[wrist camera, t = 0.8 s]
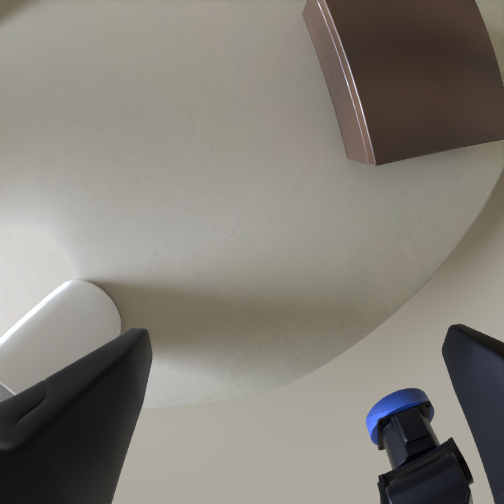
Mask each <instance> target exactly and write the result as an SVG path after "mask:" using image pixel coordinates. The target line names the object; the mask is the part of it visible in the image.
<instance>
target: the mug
mask: <svg viewBox="0 0 504 504" xmlns="http://www.w3.org/2000/svg"><path fill="white" fill-rule="evenodd" d="M120 331H121V319H120V315H119V312H118V309H117V307H116V306H115V304H114V302H113V301H112V299H111V298H110V297H109V296H108V295H107V294H106V293H105V292H104V291H103V290H102V289H100V288H99V287H97V286H96V285H94V284H92V283H90V282H87V281H83V280H72V281H69V282H66V283H64V284H63V285H62V286H60V287H59V288H58V289H56V290H55V291H54V292H53V293H51V294H50V295H49V296H48V297H46V298H45V299H44V300H43V301H42V302H41V303H40V304H38V305H37V306H36V307H35V308H34V309H33V310H32V311H30V312H29V313H28V314H27V315H26V316H25V317H24V318H23V319H21V320H20V321H19V322H18V323H17V324H16V325H15V326H14V327H13V328H11V329H10V330H9V331H8V332H7V333H6V334H5V335H4V336H3V337H2V338H1V339H0V402H2V401H4V400H6V399H8V398H10V397H12V396H14V395H16V394H18V393H20V392H22V391H24V390H26V389H28V388H30V387H31V386H33V385H35V384H37V383H38V382H40V381H42V380H45V379H46V378H47V377H49V376H51V375H52V374H54V373H56V372H58V371H59V370H61V369H63V368H65V367H66V366H68V365H70V364H72V363H73V362H75V361H77V360H79V359H80V358H82V357H84V356H85V355H87V354H89V353H91V352H92V351H94V350H96V349H98V348H99V347H101V346H103V345H105V344H106V343H108V342H110V341H111V340H113V339H115V338H117V337H118V336H119V335H120Z"/></svg>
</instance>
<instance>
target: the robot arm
mask: <svg viewBox="0 0 504 504" xmlns="http://www.w3.org/2000/svg"><path fill="white" fill-rule="evenodd" d="M442 355H443V358H444V361H445V364H446V366H447V369H448V372H449V375H450V378H451V381H452V385H453V388H454V390H455V393H456V395H457V398H458V400H459V403H460V405H461V408H462V410H463V412H464V415H465V417H466V420H467V422H468V425H469V427H470V430H471V433H472V435H473V438H474V441H475V443H476V446H477V449H478V452H479V454H480V457H481V460H482V463H483V466H484V469H485V472H486V475H487V478H488V481H489V485H490V488H491V491H492V495H493V497H494V502H495V504H504V343H503V342H501V341H499V340H497V339H494V338H492V337H490V336H488V335H485V334H483V333H481V332H479V331H476V330H474V329H471V328H470V327H467V326H465V325H463V324H456V325H451V326H450V327H449V329H448V332H447V335H446V338H445V340H444V343H443V346H442ZM151 363H152V348H151V343H150V337H149V333H148V330H147V329H143V328H132V329H130V330H129V331H127V332H125V333H123V334H122V335H120V336H118V337H117V338H115V339H113V340H111V341H110V342H108V343H106V344H105V345H103V346H101V347H99V348H98V349H96V350H94V351H92V352H91V353H89V354H87V355H85V356H84V357H82V358H80V359H79V360H77V361H75V362H73V363H72V364H70V365H68V366H66V367H65V368H63V369H61V370H59V371H58V372H56V373H54V374H52V375H51V376H49V377H47V378H46V379H45V380H42V381H40V382H38V383H37V384H35V385H33V386H31V387H30V388H28V389H26V390H24V391H22V392H20V393H18V394H16V395H14V396H12V397H10V398H8V399H6V400H4V401H2V402H0V504H111V503H112V500H113V497H114V493H115V490H116V486H117V483H118V480H119V476H120V473H121V470H122V467H123V463H124V460H125V457H126V454H127V451H128V448H129V444H130V441H131V438H132V435H133V432H134V429H135V426H136V423H137V420H138V417H139V414H140V411H141V408H142V405H143V401H144V396H145V391H146V386H147V382H148V377H149V372H150V368H151ZM430 412H431V402H430V401H425V402H423V403H420V404H418V405H415V406H412V407H410V408H407V409H404V410H402V411H399V412H396V413H393V414H390V415H387V416H384V417H381V418H379V419H378V420H377V441H378V449H379V450H384V449H386V452H387V455H388V457H389V461H390V464H391V467H392V471H390V472H387V473H385V474H382V475H379V476H378V477H379V482H378V483H377V485H378V488H379V492H380V504H473V500H472V495H471V490H470V488H469V485H470V484H472V483H473V482H474V481H473V478H472V475H471V472H470V470H469V468H468V466H467V463H466V461H465V460H464V458H463V456H462V454H461V452H460V451H459V449H458V447H457V445H456V444H455V442H454V440H453V438H452V437H451V438H449V439H448V441H446V442H444V443H443V444H441V445H440V443H439V441H438V439H437V437H436V435H435V433H434V431H433V429H432V427H431V425H430V423H429V419H430Z"/></svg>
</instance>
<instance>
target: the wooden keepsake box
mask: <svg viewBox="0 0 504 504" xmlns="http://www.w3.org/2000/svg"><path fill="white" fill-rule="evenodd" d="M302 14H303V17H304V20H305V22H306V25H307V27H308V30H309V33H310V36H311V38H312V41H313V44H314V47H315V49H316V52H317V55H318V58H319V61H320V64H321V67H322V70H323V73H324V76H325V79H326V82H327V86H328V89H329V92H330V95H331V99H332V102H333V105H334V109H335V112H336V116H337V119H338V123H339V127H340V130H341V134H342V138H343V142H344V145H345V149H346V153H347V157H348V159H350V160H354V161H358V162H362V163H366V164H371V165H375V166H378V165H383V164H387V163H391V162H396V161H400V160H404V159H409V158H414V157H418V156H423V155H427V154H432V153H437V152H442V151H447V150H451V149H456V148H462V147H467V146H472V145H477V144H483V143H488V142H494V141H499V140H504V85H503V81H502V77H501V73H500V70H499V66H498V63H497V59H496V56H495V53H494V50H493V47H492V44H491V41H490V38H489V35H488V32H487V29H486V27H485V24H484V21H483V19H482V16H481V14H480V11H479V9H478V6H477V4H476V2H475V0H307V3H306V5H305V8H304V11H303V13H302Z"/></svg>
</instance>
